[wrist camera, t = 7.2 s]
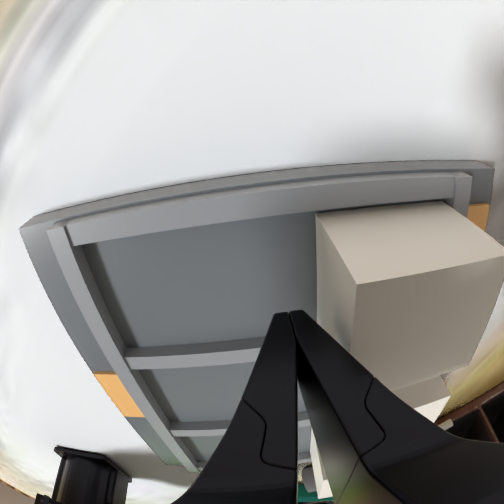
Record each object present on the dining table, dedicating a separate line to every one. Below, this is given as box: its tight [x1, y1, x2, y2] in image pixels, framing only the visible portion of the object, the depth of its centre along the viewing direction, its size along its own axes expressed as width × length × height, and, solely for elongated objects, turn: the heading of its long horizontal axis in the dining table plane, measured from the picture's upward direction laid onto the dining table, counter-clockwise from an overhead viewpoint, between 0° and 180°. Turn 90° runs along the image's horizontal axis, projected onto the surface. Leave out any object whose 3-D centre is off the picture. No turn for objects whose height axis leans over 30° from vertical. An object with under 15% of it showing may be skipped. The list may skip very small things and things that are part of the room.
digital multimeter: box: [298, 484, 335, 504], centre depth 27 cm, size 7×15×3 cm, turn 64°
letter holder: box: [434, 381, 504, 443], centre depth 19 cm, size 10×20×14 cm, turn 21°
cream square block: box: [315, 201, 504, 391], centre depth 9 cm, size 5×5×4 cm
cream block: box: [391, 375, 451, 423], centre depth 12 cm, size 5×5×4 cm
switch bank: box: [19, 160, 494, 472], centre depth 14 cm, size 19×20×2 cm
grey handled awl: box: [302, 419, 453, 492], centre depth 21 cm, size 14×3×3 cm
